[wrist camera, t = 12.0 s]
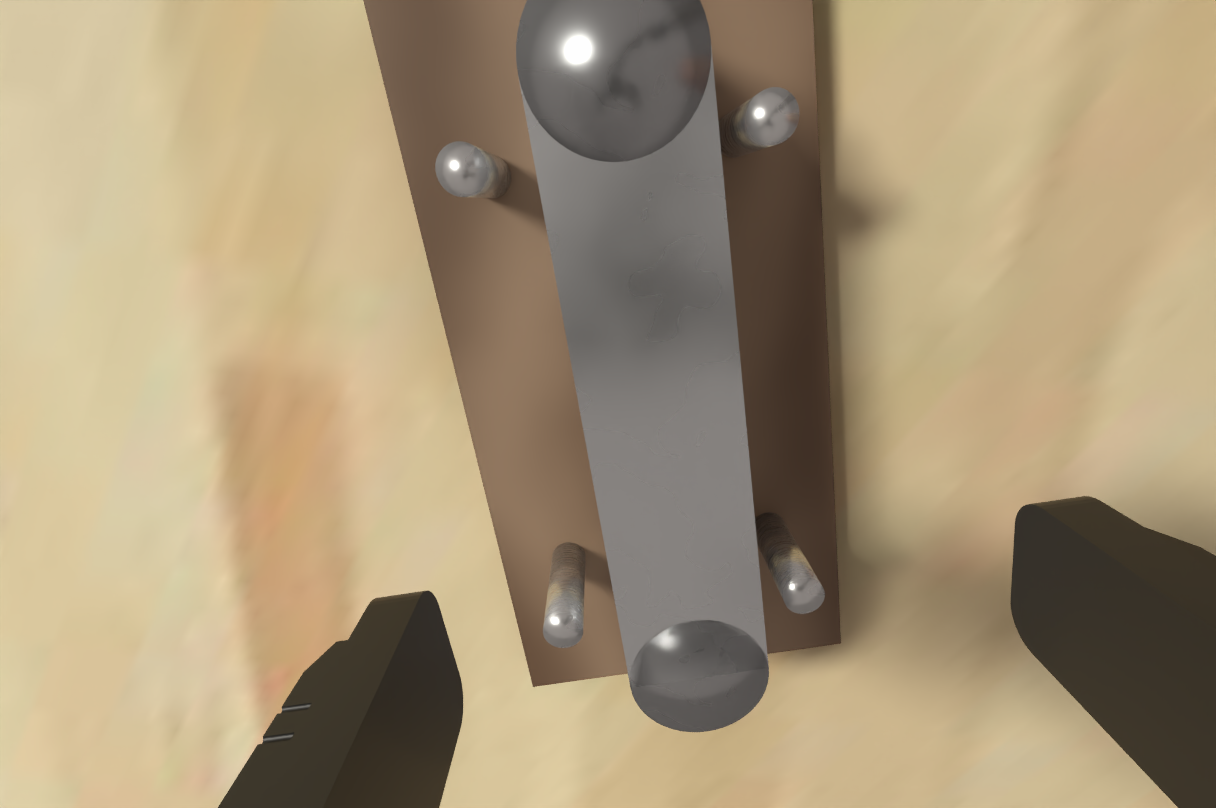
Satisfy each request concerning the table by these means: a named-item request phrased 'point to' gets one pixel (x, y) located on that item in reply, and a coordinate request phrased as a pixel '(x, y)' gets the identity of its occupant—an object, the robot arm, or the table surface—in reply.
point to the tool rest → (534, 329)
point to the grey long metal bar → (652, 338)
